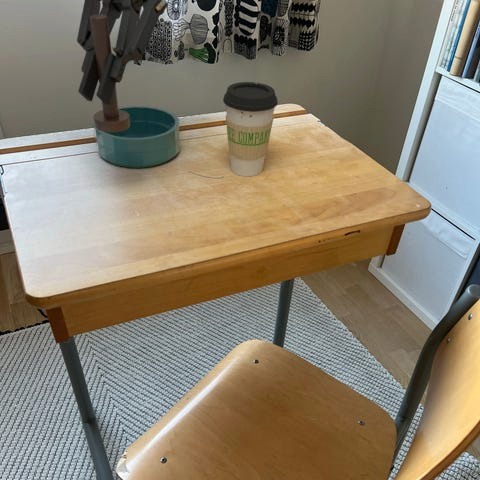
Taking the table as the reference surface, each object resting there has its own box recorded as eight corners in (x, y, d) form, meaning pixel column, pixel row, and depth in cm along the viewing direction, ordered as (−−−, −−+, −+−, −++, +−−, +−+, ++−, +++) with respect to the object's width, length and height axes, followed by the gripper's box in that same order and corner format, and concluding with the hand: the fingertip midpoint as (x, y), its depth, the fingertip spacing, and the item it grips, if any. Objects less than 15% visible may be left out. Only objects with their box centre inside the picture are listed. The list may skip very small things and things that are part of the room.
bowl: (80, 154, 102) (74, 125, 98) (133, 127, 113) (131, 100, 109) (145, 177, 97) (143, 147, 92) (195, 147, 107) (195, 118, 103)
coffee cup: (214, 175, 98) (215, 94, 88) (231, 154, 105) (233, 77, 95) (263, 184, 96) (270, 103, 86) (277, 163, 103) (284, 85, 93)
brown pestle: (87, 126, 82) (69, 16, 72) (111, 116, 86) (97, 9, 75) (114, 135, 80) (99, 23, 70) (137, 124, 84) (127, 15, 73)
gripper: (194, -27, 79) (149, 119, 78) (107, -38, 82) (64, 101, 82) (177, -67, 71) (128, 94, 71) (82, -77, 75) (35, 76, 75)
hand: (94, 98), depth 77 cm, fingers closed on brown pestle, 2 cm apart
